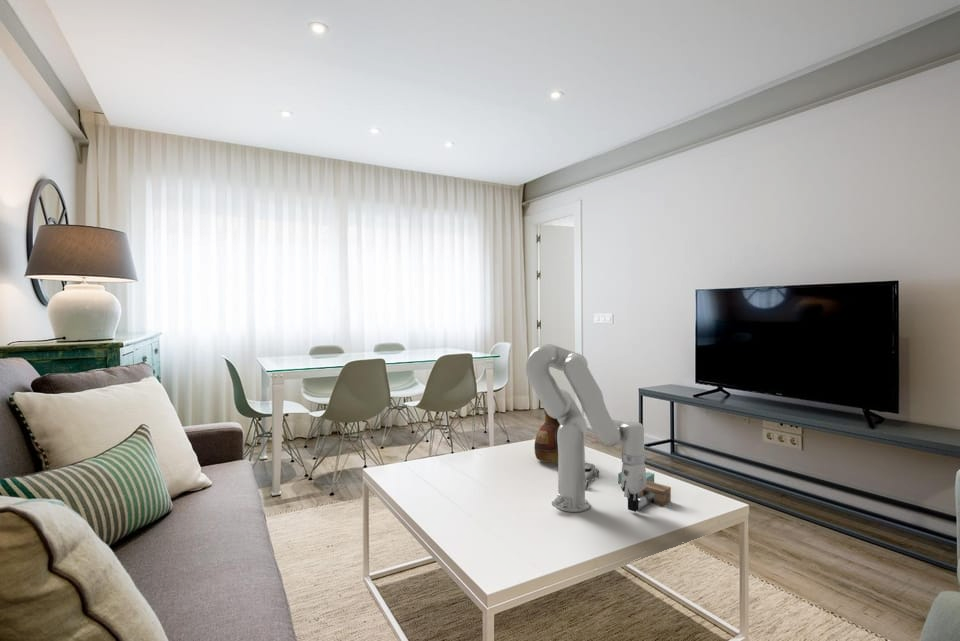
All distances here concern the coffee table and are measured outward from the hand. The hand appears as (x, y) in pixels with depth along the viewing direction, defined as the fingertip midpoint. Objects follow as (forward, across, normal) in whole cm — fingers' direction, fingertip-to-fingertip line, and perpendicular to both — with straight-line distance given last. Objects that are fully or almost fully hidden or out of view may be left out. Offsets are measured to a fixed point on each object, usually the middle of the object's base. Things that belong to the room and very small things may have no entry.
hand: (633, 510), depth 165 cm
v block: (+1, +27, +13) cm, 30 cm away
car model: (+2, +16, +32) cm, 35 cm away
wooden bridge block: (+1, +16, 0) cm, 16 cm away
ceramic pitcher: (+1, +27, +53) cm, 59 cm away
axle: (+1, +10, 0) cm, 10 cm away
